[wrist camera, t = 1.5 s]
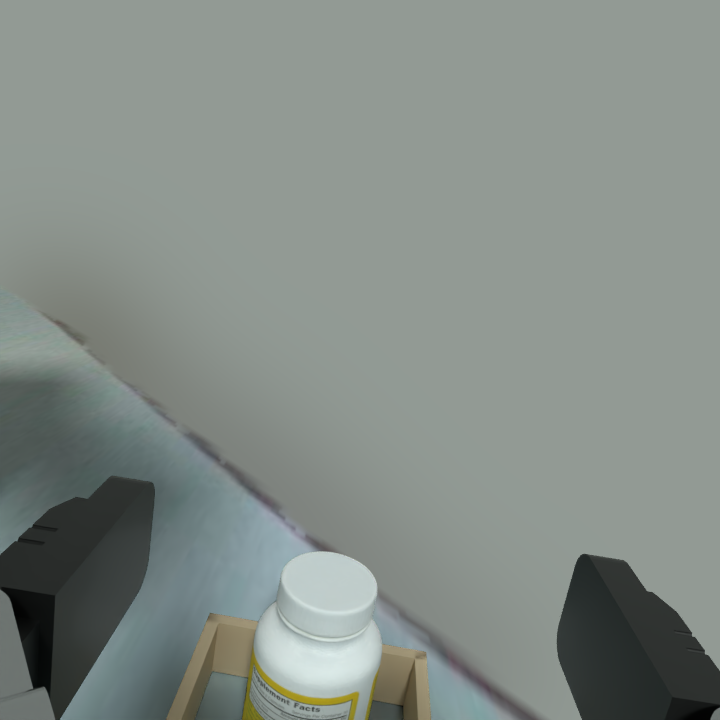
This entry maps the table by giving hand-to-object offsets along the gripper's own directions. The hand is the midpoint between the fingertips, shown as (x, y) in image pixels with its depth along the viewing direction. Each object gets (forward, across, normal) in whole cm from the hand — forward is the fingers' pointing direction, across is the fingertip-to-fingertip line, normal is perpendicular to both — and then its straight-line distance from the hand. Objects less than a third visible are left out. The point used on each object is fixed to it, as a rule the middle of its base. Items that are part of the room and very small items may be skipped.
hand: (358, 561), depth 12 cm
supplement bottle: (+12, 0, +18) cm, 22 cm away
